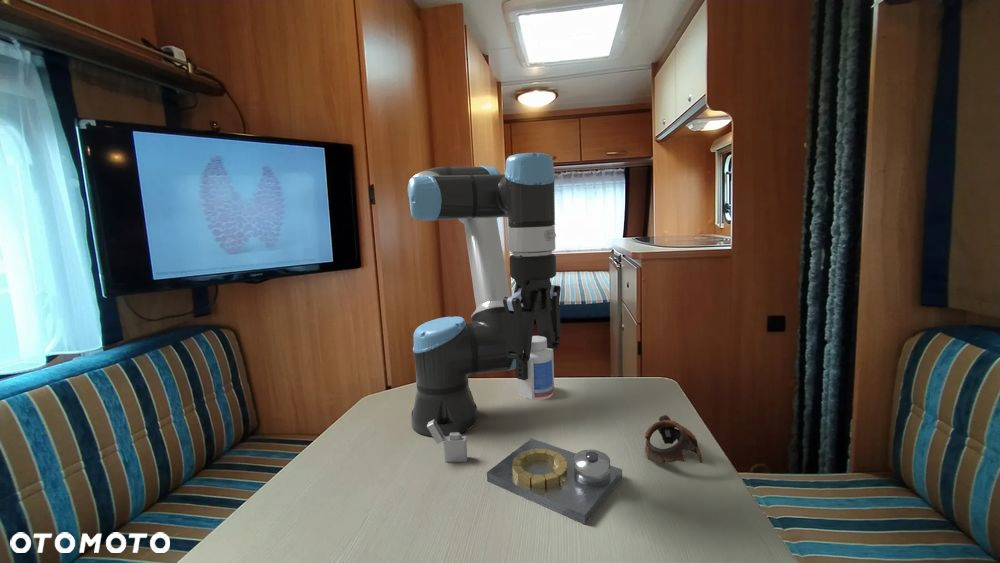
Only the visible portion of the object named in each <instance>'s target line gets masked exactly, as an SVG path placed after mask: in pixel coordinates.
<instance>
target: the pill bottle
mask: <svg viewBox="0 0 1000 563" xmlns="http://www.w3.org/2000/svg"><path fill="white" fill-rule="evenodd" d="M546 348H547V339H546V338H545V337H543V336H539V335H533V336H532V344H531V352H530V359H533V365H534V396H535V398H533V399H529V398H526V397H524V398H525V399H526V400H529V401H544V400H547V399H550V398H551V397H553V395H554V389H553V375H552V355H551V353H550V351H548V350H547V349H546ZM523 353H524V352H523Z"/></svg>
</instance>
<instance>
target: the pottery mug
mask: <svg viewBox="0 0 1000 563" xmlns="http://www.w3.org/2000/svg"><path fill="white" fill-rule="evenodd" d="M657 431H658V433H659V434H660V437H661V439H662V441H663V443H664V444H665V445H667V444H671V445H672V444H674V442H676V441H677V442H676V443H675V444H674V445H672V446H670V447H666V448H660V447H656V446H654V445H653V444H652V443H651V438H652V435H653V434H654V433H655V432H657ZM644 439H645V446H644V447H645V448H644V451H645V456H646V458H647V460H651V461H654V462H656V463H661V464H665V463H672V462H676V461H680V462H682V463H683V462H686V460H685V455H684V452H683V450H684V451H686V452H688V451H691V452H692V453H694V454H696V456H697V458H698V462H699V463H700V464H702V463H703V459H702V458H703V456H702V452H701V449H700V446H699V445H698V439H697V438H696V436H695V435H694V433H693V432H692V431H691V430H689V429H688V428H686V427H685V426H684V425H681V424H680V423H679V422H677V421H674V420H673V419H672V420H671V417H669V416H668V415H666V414H665V415H662V416H660V417H659V418H658V421H656V422H655V423H653V424H652V425H650V426H649V427H648V429H647V430H646V432H645V435H644Z"/></svg>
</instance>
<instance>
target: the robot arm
mask: <svg viewBox="0 0 1000 563" xmlns="http://www.w3.org/2000/svg"><path fill="white" fill-rule="evenodd" d="M554 168H555V167H554V159H553V158H552V156H551V155H550V154H548V153H543V152H525V153H524V152H523V153H516V154H512V155H509V156H508V157H507V159H506V160H505V171H504V174H503V173H502V174H501V172H500V171H499V170H498V169H497V168H496V167H495V166H494V167H493V166H484V165H478V166H438V167H437V166H436V167H432V168H429V169H428V168H427V169H424V170H421V171H418V172H417V173H416V174H414V175H413V176H412V177H411V178H410V179H409V180H408V184H407V188H406V191H407V196H408V199H409V209H410V216H411V218H412V219H413V220H415V221H427V222H435V221H441V220H443V221H444V220H458V221H459V222H460V223H462V224H463V225H464V232H465V233H464V234H465V239H466V247H467V253H468V254H467V255H468V260H469V267H470V273H471V274H470V275H471V280H472V286H473V295H474V301H475V310H474V311H473V313H471V315H470V316H471V317H470V318H471V320H470V321H471V322H466V320H465V318H463V317H462V316H444V317H439V318H435V319H432V320H430V321H426V322H423V323H422V324H421V325H418V326H417V327H416V328H415V330H414V332H413V335H412V336H413V347H412V351H413V353H414V363H415V364H414V367H415V381H416V394H415V399H414V405H413V409H412V411H411V413H410V420H411V427H412V429H413V430H414V431H415V432H416V433H418V434H420V435H423V436H429V437H433V436H432V434H431V433H430V431H429V429H428V428H427V424H428V422H430V421H432V420H434V419H435V421H436V422H437V424H438V426H439V427H440V429H441V431H442V433H443V434H444V436H445V437H449V435H450V433H458V432H459V433H460V434H461V433H464V432H465V431H468V430H470V429H471V428H472V427H474V426H475V425H476V424H477V423H478V420H479V413H478V412H479V411H478V406H477V404H476V402H475V400H474V396H473V393H472V391H471V388H470V385H469V376H472V375H479V374H485V373H494V372H501V371H509V372H510V371H511V370H516V378H517V393H518V396H519V397H521V398H522V397H523V398H525V397H526V398H529V399H533V398H535V396H534V365H533V359H530V352H531V344H532V336H534V335H533V334H534V326H535V324H536V328H537V333H538V336H543V337H545V338H546V339H547V348H546V349H547V350H548V351H550V353H551V355H552V375H553V386H554V387H555V371H554V370H555V366H554V365H555V364H554V362H555V360H554V357H555V356H554V349H559V348H560V342H561V340H562V331H561V330H562V329H561V308H560V307H561V304H560V299H561V292H562V288H561V286H560V285H555V284H552V282H551V279H552V278H554V277H556V276H557V255H555V253H552V252H554V251H555V250H556V237H557V233H556V226H555V225H556V215H555V214H556V213H555V212H556V210H555V209H556V208H555V207H556V205H555V200H556V198H555V194H556V193H555V181H556V175H555V169H554ZM498 218H507V226H508V227H507V241H508V252H509V253H512V255H510V257H509V258H508V260H509V263H508V264H509V276H510V278H511V279H513V280H514V281H515V286H514V289H513V290H514V293H513V294H512V295H511V290H510V285H509V280H508V274H507V270H506V268H507V267H506V263H505V262H506V261H505V258H504V252H503V248H502V247H503V246H502V240H501V236H500V230H499V223H498ZM535 322H536V323H535ZM523 352H524V353H523ZM526 398H525V399H526ZM529 399H528V400H529Z"/></svg>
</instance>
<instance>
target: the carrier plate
mask: <svg viewBox="0 0 1000 563" xmlns="http://www.w3.org/2000/svg"><path fill="white" fill-rule="evenodd" d="M622 479H623V468H620V467H616V466H613V465H611V459H610V456H608V454H606V453H604V452H603V451H600V450H596V449H582V450H579V451H577V452H573V451H569V450H567V449H564V448H561V447H558V446H556V445H552V444H549V443H548V442H547V443H546V442H543V441H540V440H538V439H535V438H532V437H531V438H530V439H528V440H527V441H526V442H524V443H523V444H521V445H520V446H519V447H518V448H517V449H515V450H514V451H513V452H511V453H510V454H509V455H507V456H506V457H505V458H503V459H502V460H501V461H499V462H497V464H495V466H493V467H492V468H491V469H489V470H488V471H487V472H486V481H487V482H489V483H492V484H494V485H496V486H498V487H500V488H503V489H505V490H507V491H509V492H512V493H514V494H516V495H517V496H520V497H523V498H524V499H527V500H529V501H531V502H533V503H536V504H538V505H541V506H543V507H545V508H547V509H550V510H551V511H554V512H557V513H558V514H560V515H563V516H564V517H567V518H568V519H569V518H570V519H572V520H574V521H576V522H577V523H578V522H579V523H581V524H583V525H586V524H587V523H588V522H589V521H590V520H591V518H592V516H593V515H594V514H595V513H596V512H597V511H598V509H599V507H601V505H602V504H603V503H604V501H605V500H606V499H607V498H608V497H609V496H610V494H611V493H612V492H613V490H614V489H615V488H616V486H617V485H618V484H619V483H620V482H621V480H622Z"/></svg>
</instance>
